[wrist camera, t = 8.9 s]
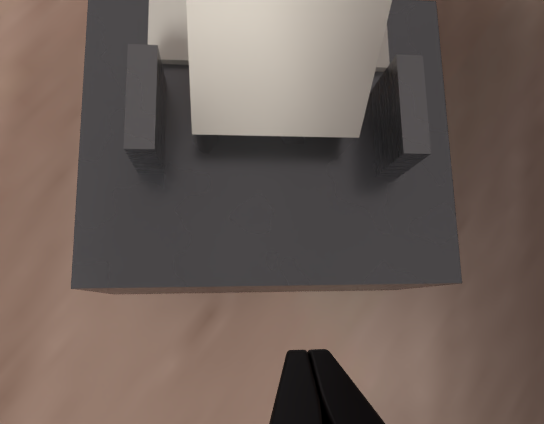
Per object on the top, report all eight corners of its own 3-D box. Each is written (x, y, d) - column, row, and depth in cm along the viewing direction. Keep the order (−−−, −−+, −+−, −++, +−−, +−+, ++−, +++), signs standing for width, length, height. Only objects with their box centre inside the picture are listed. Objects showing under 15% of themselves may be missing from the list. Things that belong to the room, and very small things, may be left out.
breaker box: (395, 289, 21) (505, 278, 13) (113, 294, 20) (41, 285, 12) (381, 78, 23) (470, -47, 15) (123, 69, 22) (67, -72, 14)
